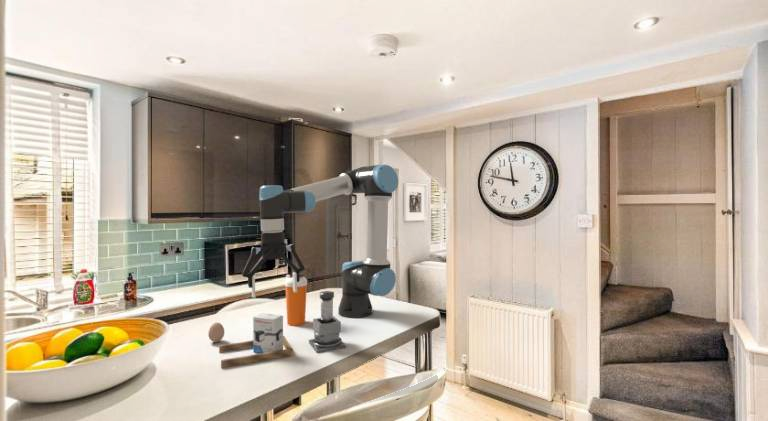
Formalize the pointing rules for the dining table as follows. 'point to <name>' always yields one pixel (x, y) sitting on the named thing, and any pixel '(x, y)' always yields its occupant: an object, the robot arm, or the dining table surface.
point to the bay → (252, 358)
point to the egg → (216, 332)
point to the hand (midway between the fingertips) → (274, 294)
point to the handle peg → (326, 306)
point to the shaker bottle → (296, 300)
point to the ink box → (267, 333)
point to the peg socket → (326, 336)
